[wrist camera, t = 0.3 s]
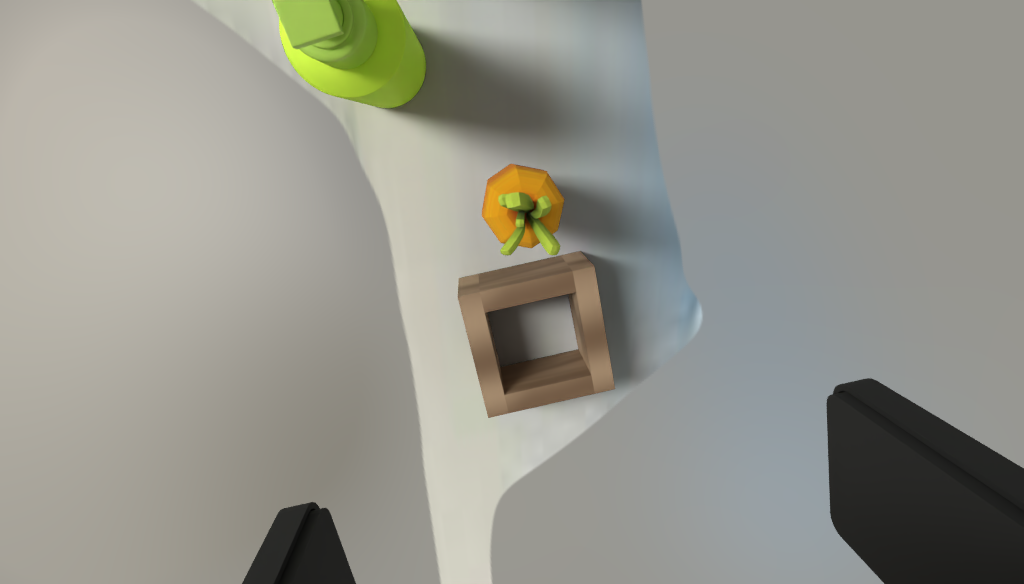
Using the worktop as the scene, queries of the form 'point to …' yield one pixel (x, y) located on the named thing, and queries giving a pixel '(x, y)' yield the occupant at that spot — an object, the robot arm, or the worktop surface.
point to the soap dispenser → (353, 49)
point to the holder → (547, 374)
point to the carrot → (523, 208)
